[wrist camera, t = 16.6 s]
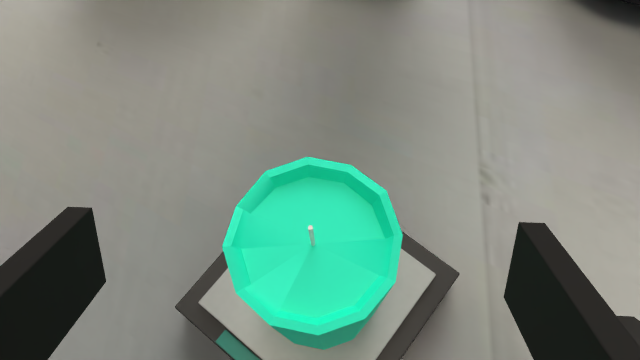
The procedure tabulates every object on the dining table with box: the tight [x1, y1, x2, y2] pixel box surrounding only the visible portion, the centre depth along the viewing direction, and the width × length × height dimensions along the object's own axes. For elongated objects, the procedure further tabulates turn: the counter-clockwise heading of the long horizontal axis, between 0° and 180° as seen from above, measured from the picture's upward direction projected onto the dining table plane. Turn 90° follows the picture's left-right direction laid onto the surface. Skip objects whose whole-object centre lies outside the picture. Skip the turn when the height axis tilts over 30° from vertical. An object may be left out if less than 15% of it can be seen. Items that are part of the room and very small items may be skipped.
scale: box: [175, 232, 459, 360], centre depth 27 cm, size 11×11×3 cm
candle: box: [222, 157, 403, 350], centre depth 20 cm, size 6×6×12 cm
